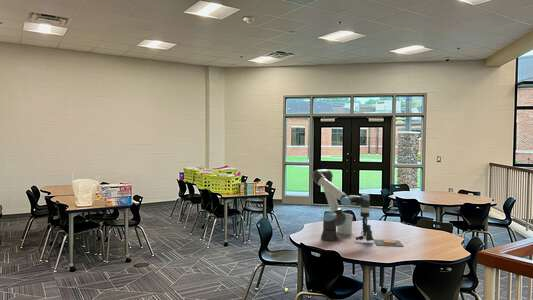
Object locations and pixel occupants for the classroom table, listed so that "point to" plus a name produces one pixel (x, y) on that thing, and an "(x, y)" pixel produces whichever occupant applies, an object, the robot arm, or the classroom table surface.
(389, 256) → the classroom table surface
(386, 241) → the tile
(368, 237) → the gun
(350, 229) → the utensil holder
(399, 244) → the mat
